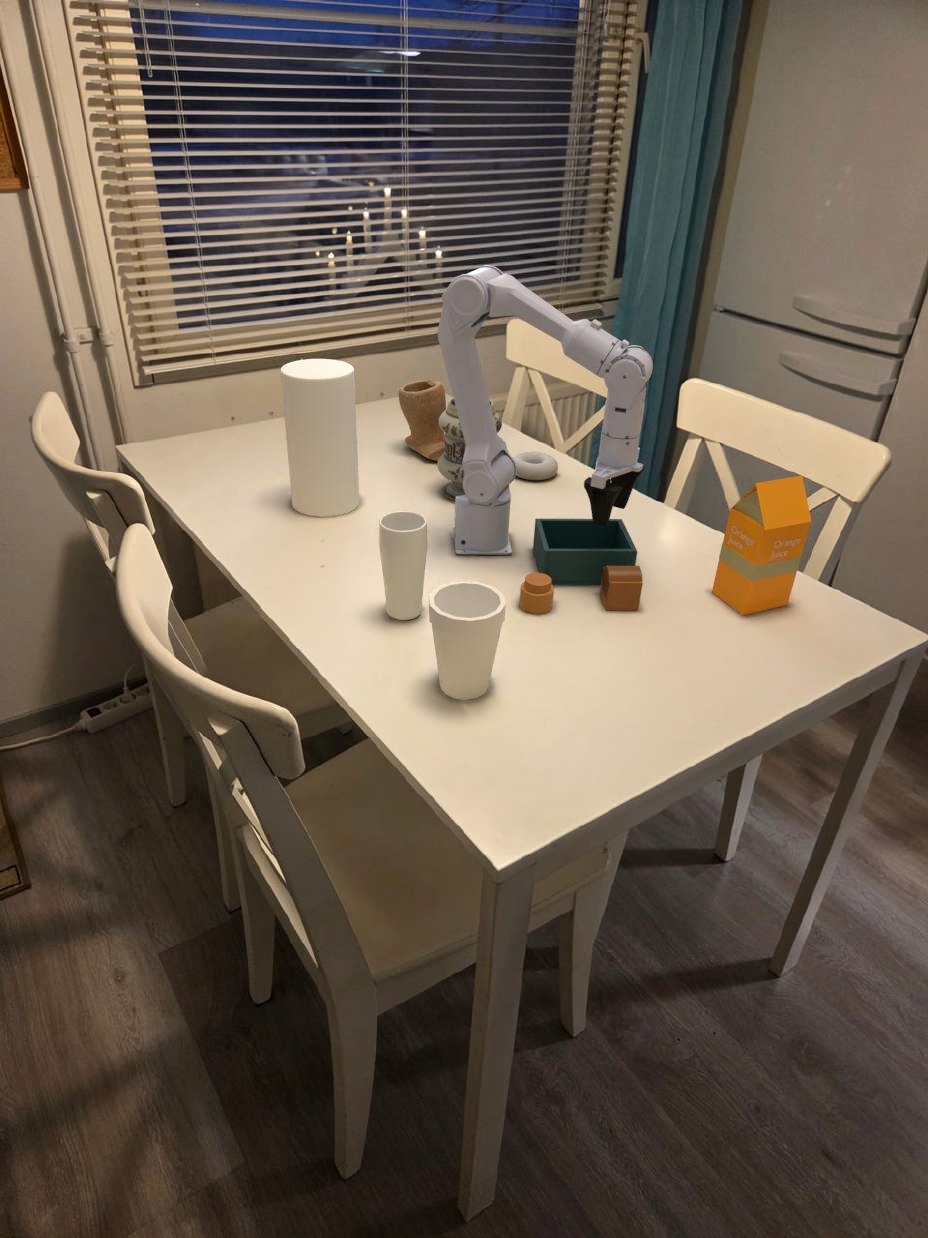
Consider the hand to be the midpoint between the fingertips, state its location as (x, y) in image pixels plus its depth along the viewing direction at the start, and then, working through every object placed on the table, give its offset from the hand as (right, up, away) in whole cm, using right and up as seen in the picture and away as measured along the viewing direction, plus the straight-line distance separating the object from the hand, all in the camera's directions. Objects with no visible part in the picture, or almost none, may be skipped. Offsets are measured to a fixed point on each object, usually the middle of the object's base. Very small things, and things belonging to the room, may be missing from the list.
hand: (609, 515), depth 131 cm
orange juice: (+22, -13, -1) cm, 25 cm away
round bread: (-12, -14, -5) cm, 19 cm away
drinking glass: (-32, -16, -8) cm, 36 cm away
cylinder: (-49, +5, +24) cm, 55 cm away
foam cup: (-23, -25, -23) cm, 41 cm away
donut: (-9, +13, +39) cm, 42 cm away
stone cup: (-30, +19, +47) cm, 59 cm away
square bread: (+1, -14, -3) cm, 14 cm away
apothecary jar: (-22, +8, +30) cm, 38 cm away
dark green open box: (-4, -8, +6) cm, 10 cm away
